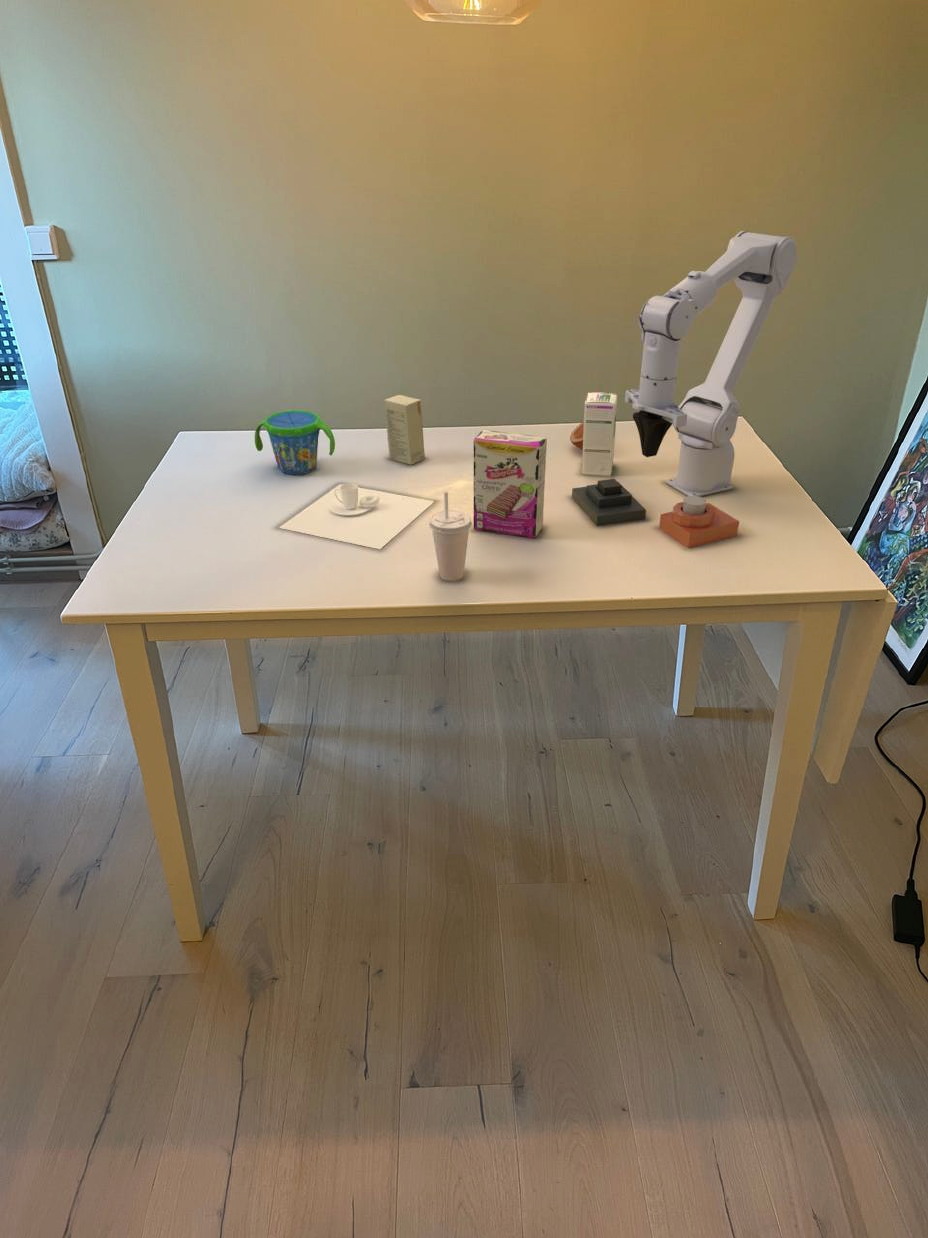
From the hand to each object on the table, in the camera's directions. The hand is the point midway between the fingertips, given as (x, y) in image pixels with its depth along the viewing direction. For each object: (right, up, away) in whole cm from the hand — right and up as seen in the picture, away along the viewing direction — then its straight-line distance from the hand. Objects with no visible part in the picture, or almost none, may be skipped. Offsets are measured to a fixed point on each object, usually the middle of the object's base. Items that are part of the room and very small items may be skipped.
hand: (649, 455), depth 148 cm
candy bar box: (-24, -13, 0) cm, 27 cm away
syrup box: (-6, +1, +21) cm, 22 cm away
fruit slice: (-7, +9, +28) cm, 30 cm away
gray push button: (+6, -10, -4) cm, 13 cm away
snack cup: (-64, +2, +24) cm, 69 cm away
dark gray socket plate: (-6, -8, +7) cm, 12 cm away
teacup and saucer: (-50, -10, +6) cm, 51 cm away
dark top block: (-6, -6, +5) cm, 10 cm away
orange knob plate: (+8, -13, -2) cm, 15 cm away
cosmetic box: (-43, +4, +27) cm, 51 cm away
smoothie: (-33, -21, -12) cm, 41 cm away
